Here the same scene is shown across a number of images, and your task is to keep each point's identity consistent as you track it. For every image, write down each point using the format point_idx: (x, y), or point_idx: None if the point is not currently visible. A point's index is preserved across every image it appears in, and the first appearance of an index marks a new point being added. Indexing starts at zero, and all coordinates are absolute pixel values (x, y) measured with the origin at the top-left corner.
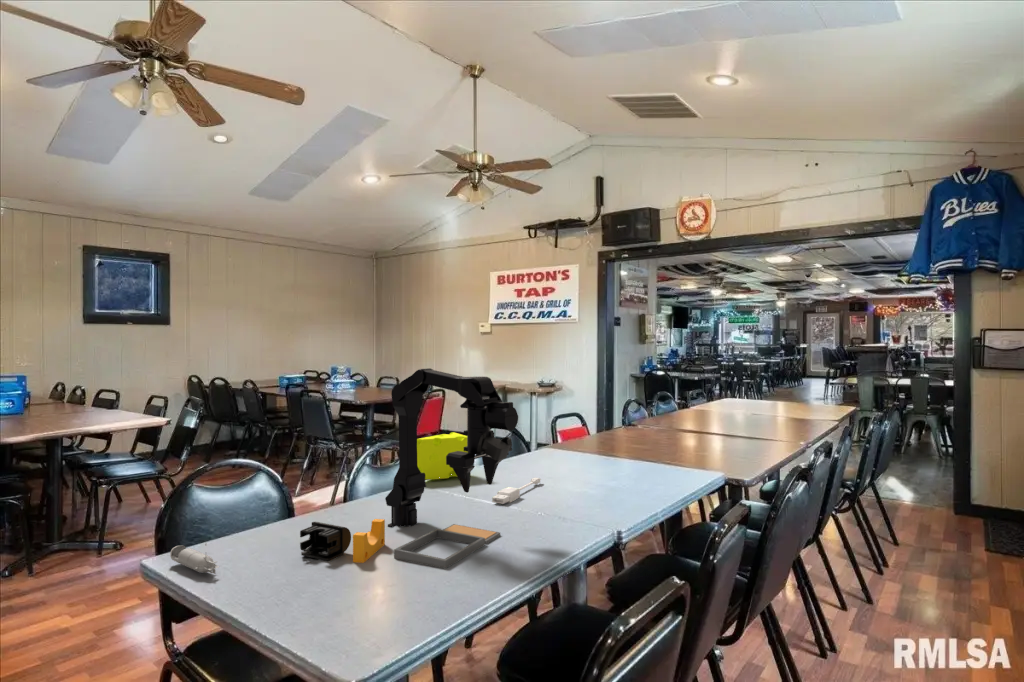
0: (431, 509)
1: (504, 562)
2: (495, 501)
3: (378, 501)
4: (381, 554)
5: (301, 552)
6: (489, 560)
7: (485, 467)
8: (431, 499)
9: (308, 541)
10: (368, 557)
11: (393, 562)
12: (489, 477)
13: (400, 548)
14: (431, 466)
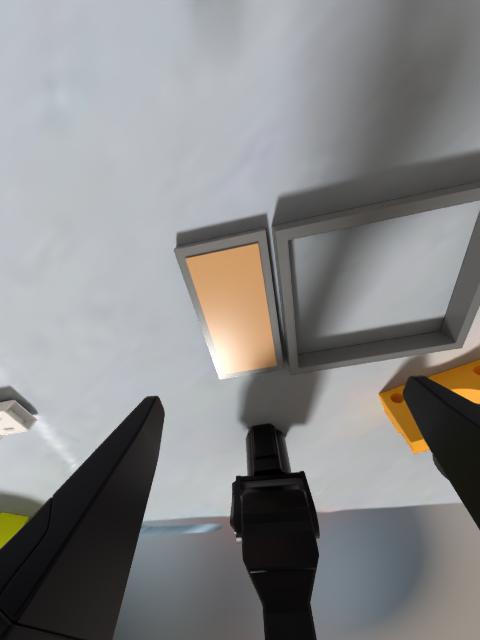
0: (176, 454)
1: (375, 16)
2: (27, 417)
3: (214, 505)
4: (431, 365)
5: None
6: (378, 103)
7: (117, 583)
8: None
9: None
10: (462, 367)
11: None
12: (143, 452)
13: (450, 343)
14: None
